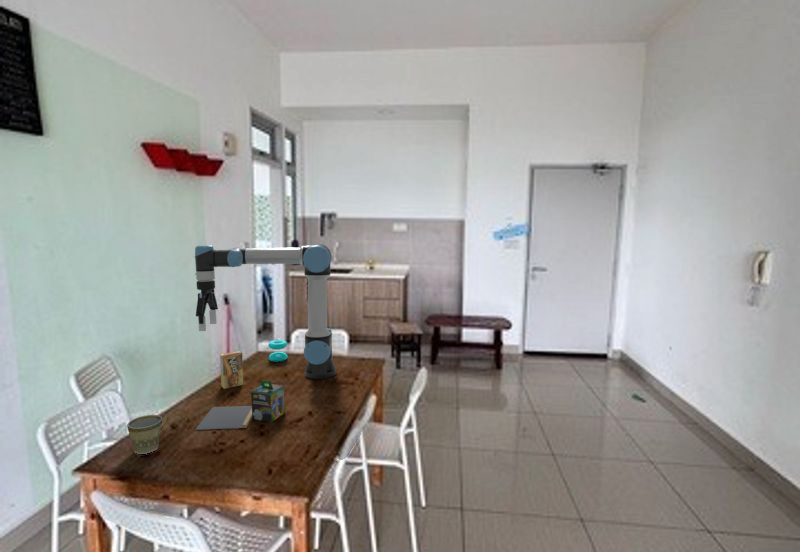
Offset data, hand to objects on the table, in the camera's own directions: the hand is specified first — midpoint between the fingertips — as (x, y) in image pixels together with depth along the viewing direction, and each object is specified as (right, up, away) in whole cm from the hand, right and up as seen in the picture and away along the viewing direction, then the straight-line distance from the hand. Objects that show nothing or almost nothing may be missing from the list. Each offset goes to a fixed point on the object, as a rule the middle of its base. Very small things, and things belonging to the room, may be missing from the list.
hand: (208, 327), depth 202 cm
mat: (+20, -32, -29) cm, 47 cm away
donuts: (+20, -23, +45) cm, 54 cm away
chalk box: (+35, -32, -27) cm, 55 cm away
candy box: (+9, -28, +5) cm, 30 cm away
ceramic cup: (+4, -34, -52) cm, 63 cm away
